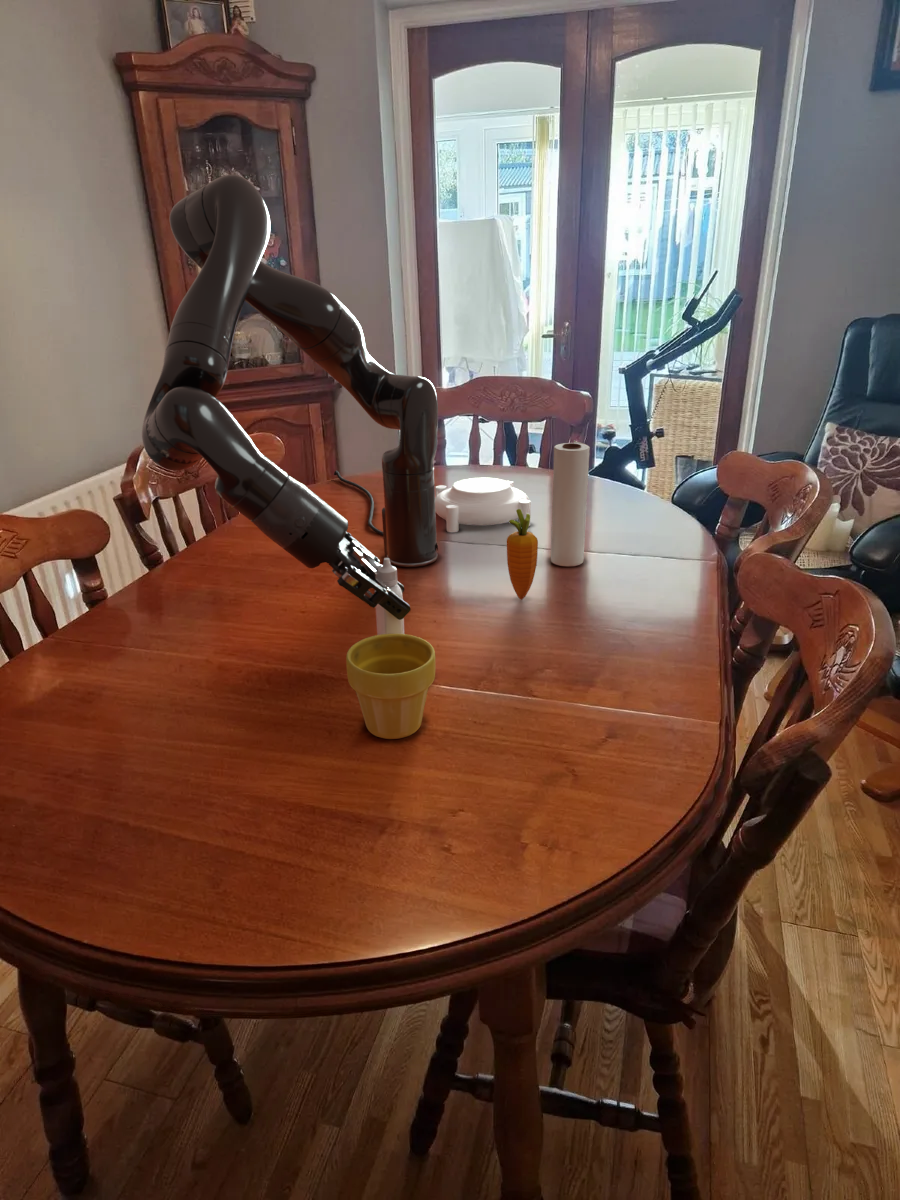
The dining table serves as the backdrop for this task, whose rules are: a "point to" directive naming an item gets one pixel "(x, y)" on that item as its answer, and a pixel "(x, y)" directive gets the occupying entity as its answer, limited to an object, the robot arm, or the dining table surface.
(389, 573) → the eye dropper bottle
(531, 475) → the dining table surface
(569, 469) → the paper towel roll
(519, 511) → the carrot
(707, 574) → the dining table surface
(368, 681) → the flower pot
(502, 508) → the round stand with pegs
